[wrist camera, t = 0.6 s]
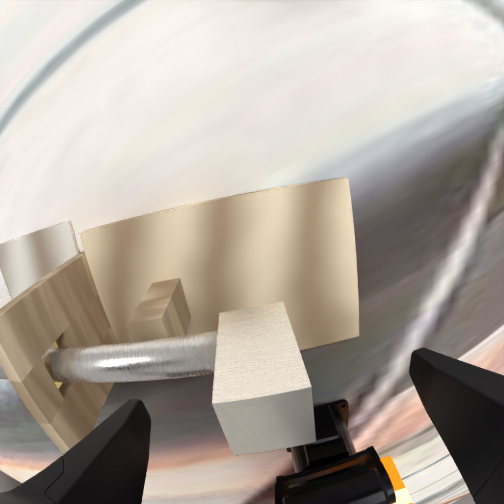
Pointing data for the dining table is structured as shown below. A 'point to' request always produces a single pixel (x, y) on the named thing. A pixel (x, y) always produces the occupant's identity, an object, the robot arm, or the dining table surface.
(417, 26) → the dining table surface
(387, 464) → the orange juice
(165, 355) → the shaft
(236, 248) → the wooden latch stand
